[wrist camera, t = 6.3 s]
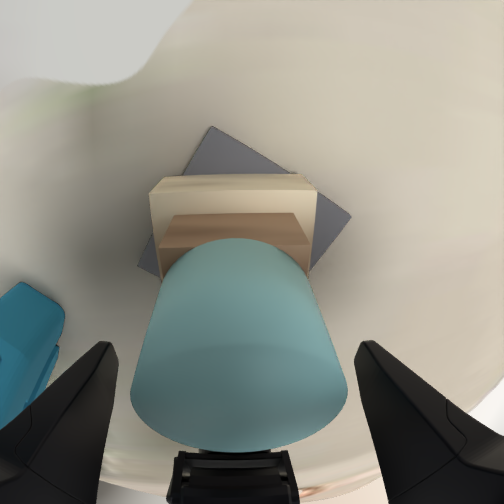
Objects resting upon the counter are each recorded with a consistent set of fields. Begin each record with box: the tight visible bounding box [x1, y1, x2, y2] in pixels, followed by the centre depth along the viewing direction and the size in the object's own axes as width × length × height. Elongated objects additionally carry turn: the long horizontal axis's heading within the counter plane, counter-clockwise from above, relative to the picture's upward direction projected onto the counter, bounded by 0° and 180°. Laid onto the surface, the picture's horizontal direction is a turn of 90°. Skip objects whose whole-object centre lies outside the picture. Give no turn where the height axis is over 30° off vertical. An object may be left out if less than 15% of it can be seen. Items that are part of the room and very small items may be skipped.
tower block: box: [158, 213, 311, 279], centre depth 12 cm, size 5×5×3 cm
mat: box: [138, 126, 351, 278], centre depth 16 cm, size 9×9×1 cm
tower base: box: [149, 174, 317, 282], centre depth 14 cm, size 7×7×3 cm
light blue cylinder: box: [130, 238, 348, 452], centre depth 8 cm, size 6×6×4 cm
